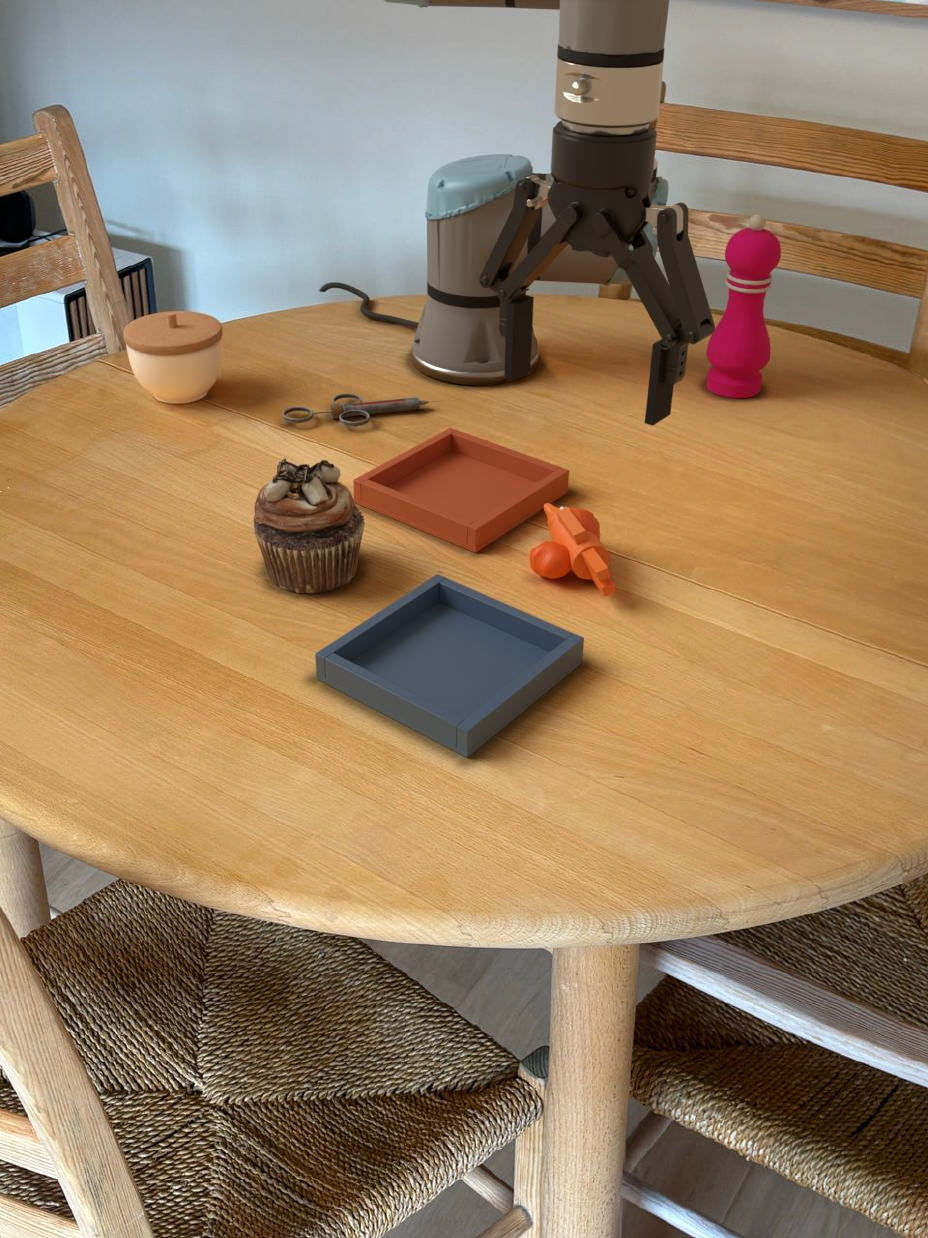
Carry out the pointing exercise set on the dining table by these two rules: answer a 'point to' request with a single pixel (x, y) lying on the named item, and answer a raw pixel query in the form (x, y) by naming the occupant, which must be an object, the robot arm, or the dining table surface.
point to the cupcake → (308, 528)
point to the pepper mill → (744, 314)
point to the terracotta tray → (461, 488)
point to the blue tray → (450, 662)
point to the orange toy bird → (573, 548)
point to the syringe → (358, 409)
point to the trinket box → (175, 354)
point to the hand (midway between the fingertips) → (585, 396)
